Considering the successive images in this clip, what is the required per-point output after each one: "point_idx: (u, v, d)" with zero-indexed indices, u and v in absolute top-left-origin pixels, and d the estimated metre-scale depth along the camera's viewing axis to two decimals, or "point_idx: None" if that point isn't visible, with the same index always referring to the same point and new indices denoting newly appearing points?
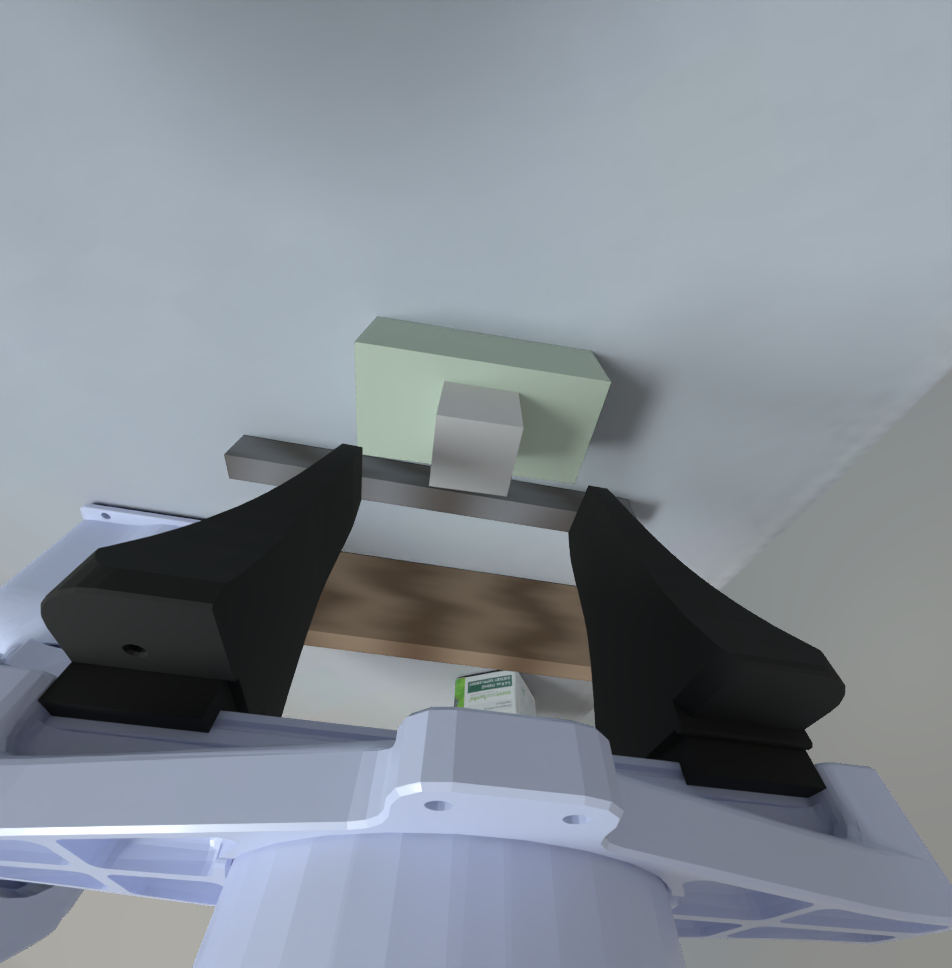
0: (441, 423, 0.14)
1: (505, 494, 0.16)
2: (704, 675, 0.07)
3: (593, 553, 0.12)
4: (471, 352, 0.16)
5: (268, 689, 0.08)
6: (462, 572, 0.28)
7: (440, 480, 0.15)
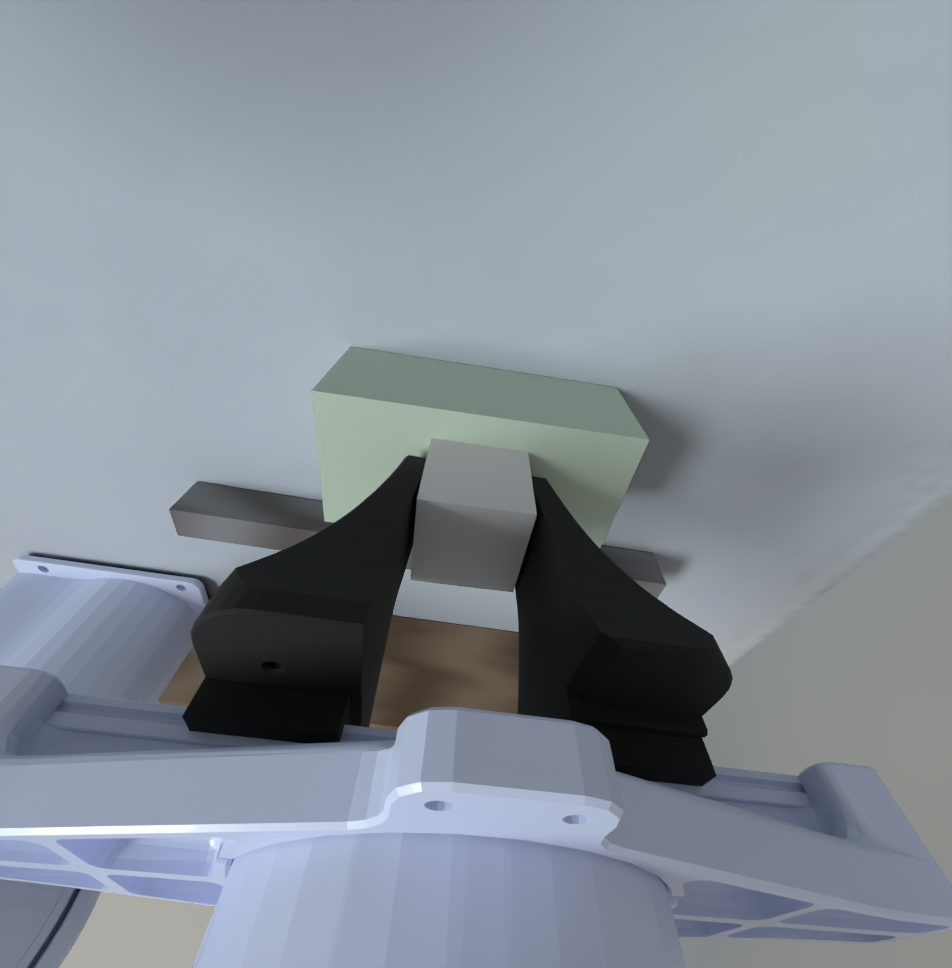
0: (424, 509, 0.10)
1: (511, 589, 0.12)
2: (589, 660, 0.07)
3: None
4: (466, 399, 0.13)
5: (368, 701, 0.08)
6: (458, 628, 0.24)
7: (425, 573, 0.12)
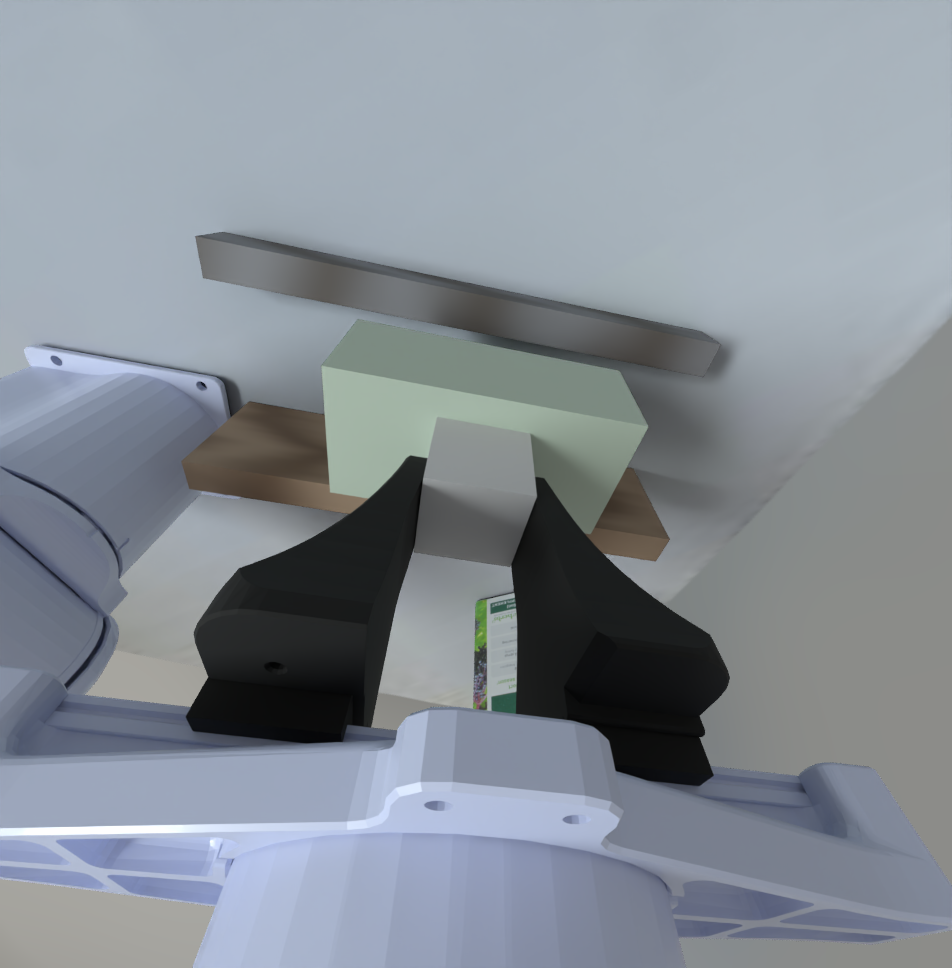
0: (430, 487, 0.11)
1: (508, 564, 0.13)
2: (586, 659, 0.07)
3: (524, 543, 0.11)
4: (472, 379, 0.13)
5: (371, 701, 0.08)
6: None
7: (428, 547, 0.12)
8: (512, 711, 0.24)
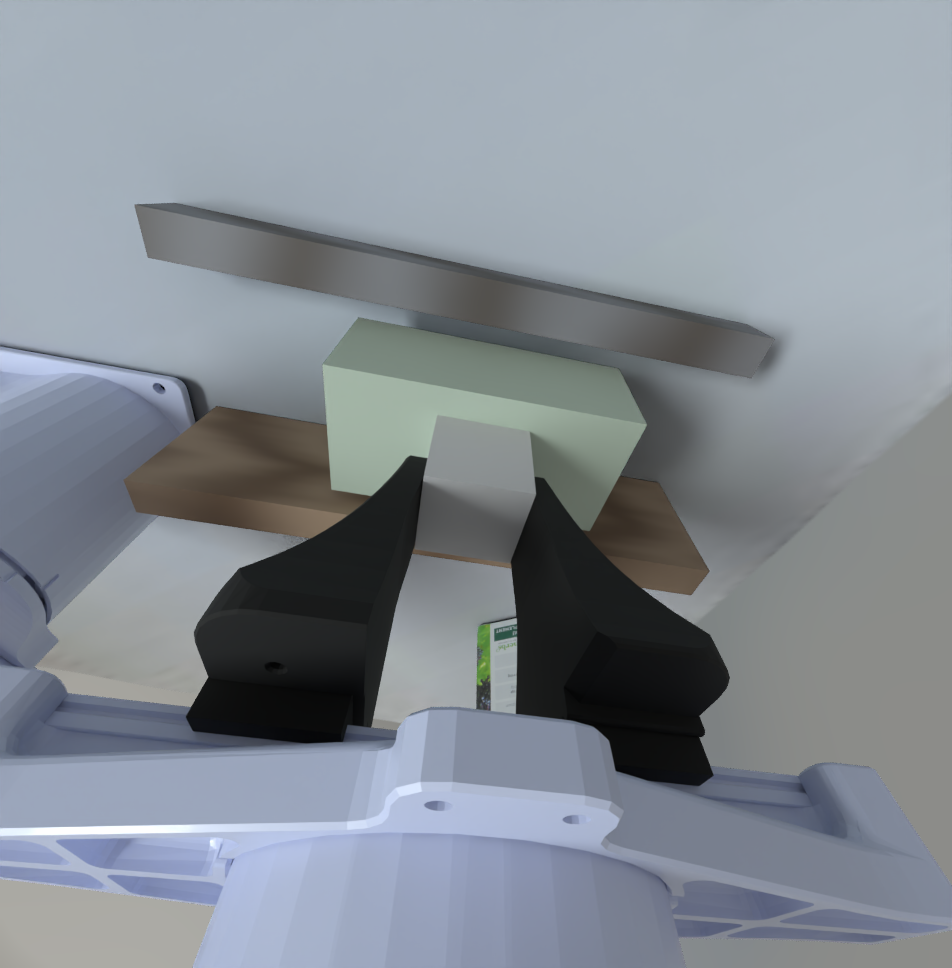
0: (430, 485, 0.11)
1: (508, 561, 0.13)
2: (585, 659, 0.07)
3: (524, 543, 0.11)
4: (472, 378, 0.13)
5: (371, 701, 0.08)
6: None
7: (428, 544, 0.12)
8: None
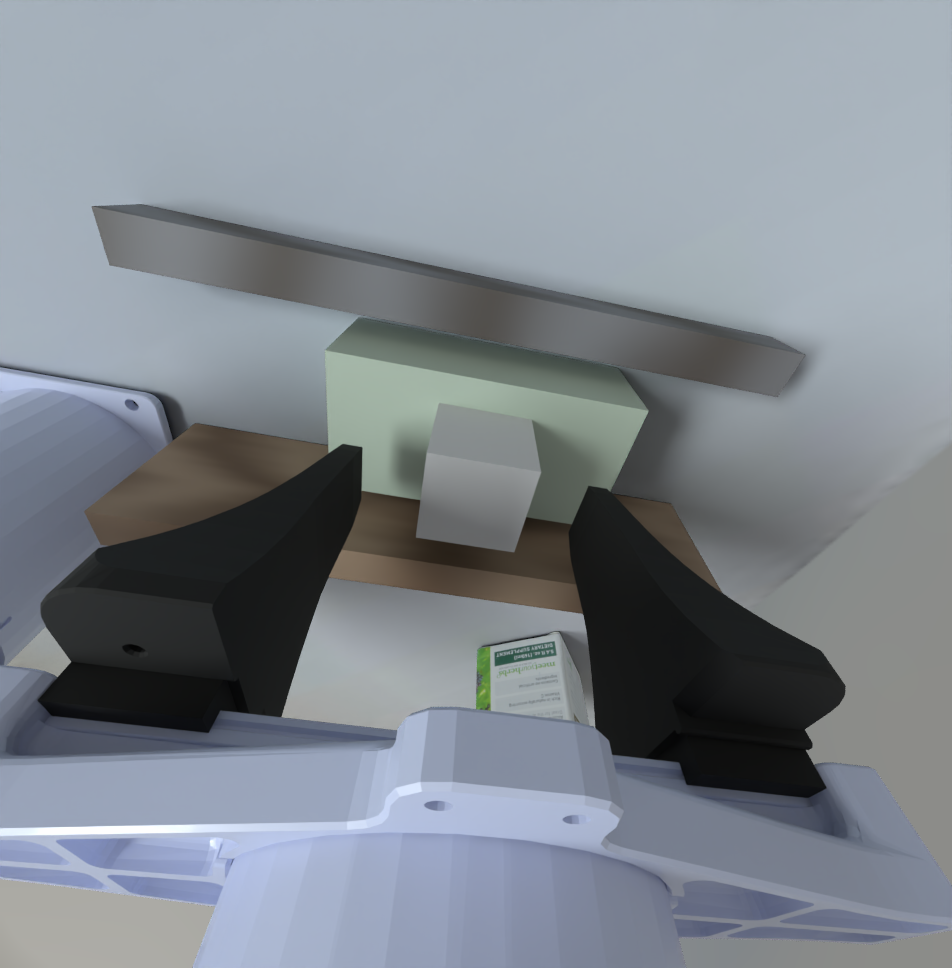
0: (433, 463, 0.11)
1: (512, 550, 0.12)
2: (704, 675, 0.07)
3: (593, 553, 0.12)
4: (474, 367, 0.13)
5: (268, 689, 0.08)
6: None
7: (430, 531, 0.12)
8: None
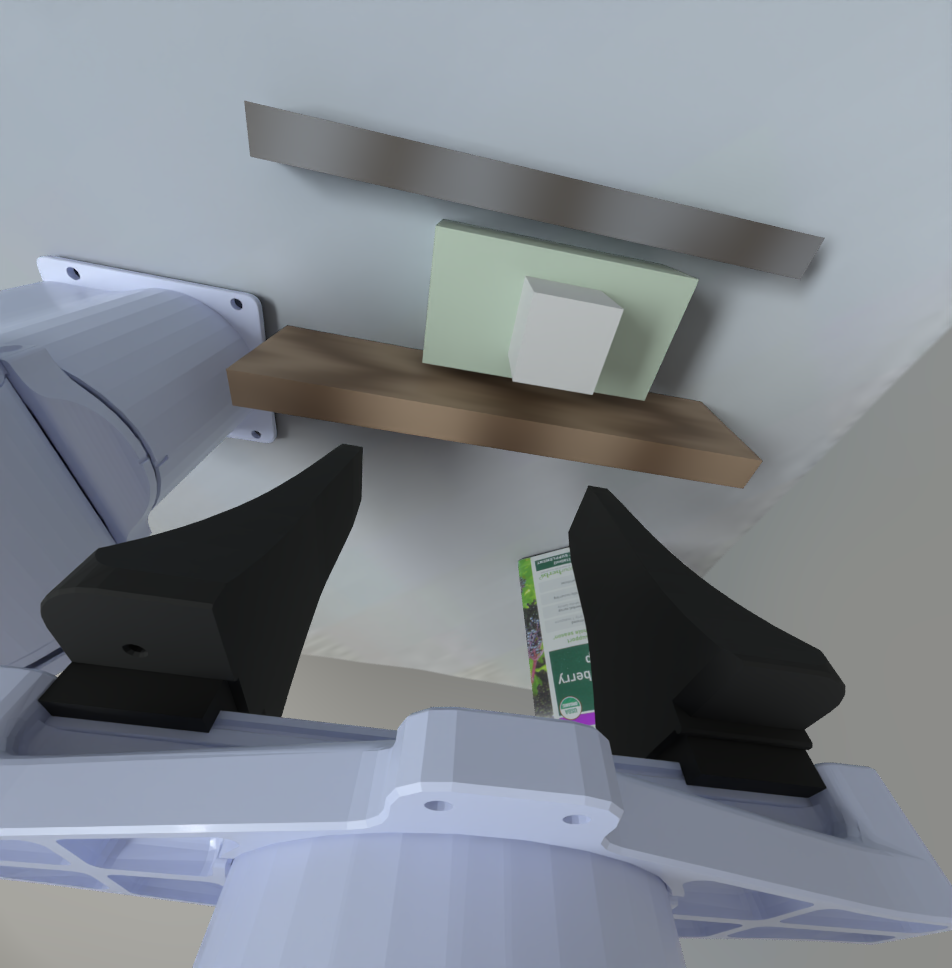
0: (537, 303, 0.13)
1: (591, 392, 0.15)
2: (704, 675, 0.07)
3: (593, 554, 0.12)
4: (552, 247, 0.16)
5: (268, 689, 0.08)
6: None
7: (525, 374, 0.14)
8: (575, 665, 0.22)
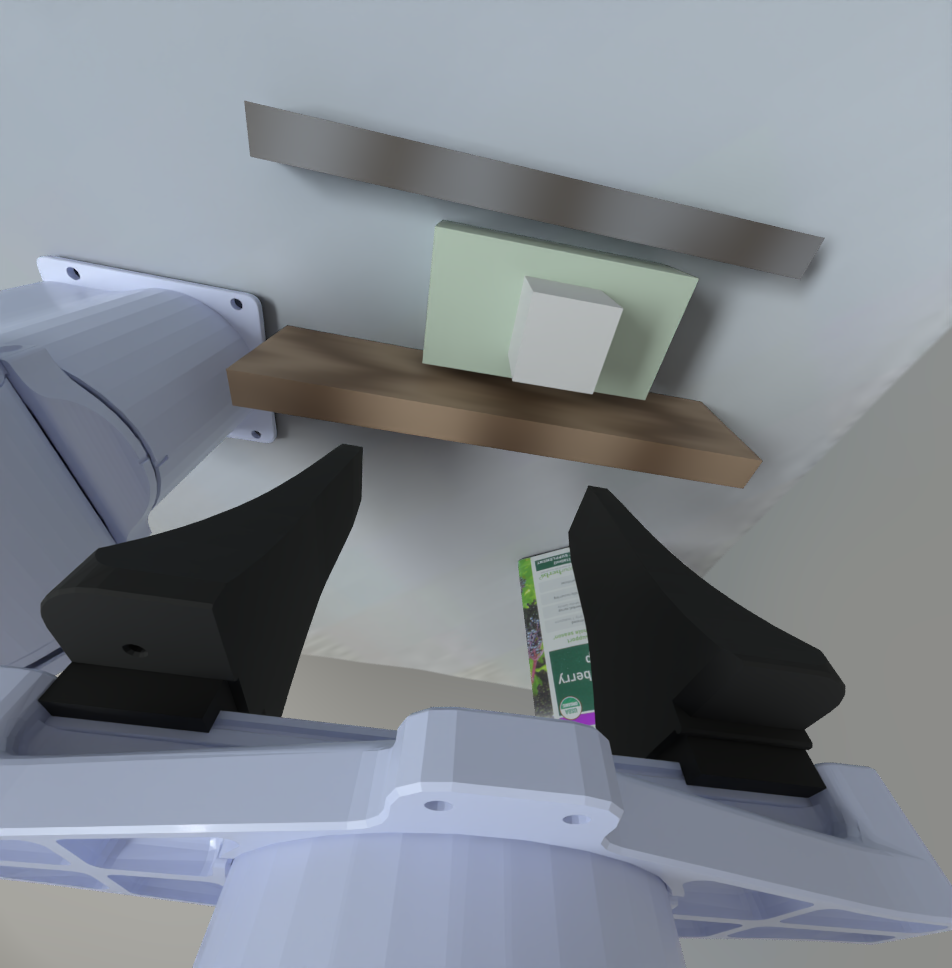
0: (536, 302, 0.13)
1: (591, 392, 0.15)
2: (704, 675, 0.07)
3: (593, 554, 0.12)
4: (551, 247, 0.16)
5: (268, 689, 0.08)
6: None
7: (525, 374, 0.14)
8: (575, 664, 0.22)
